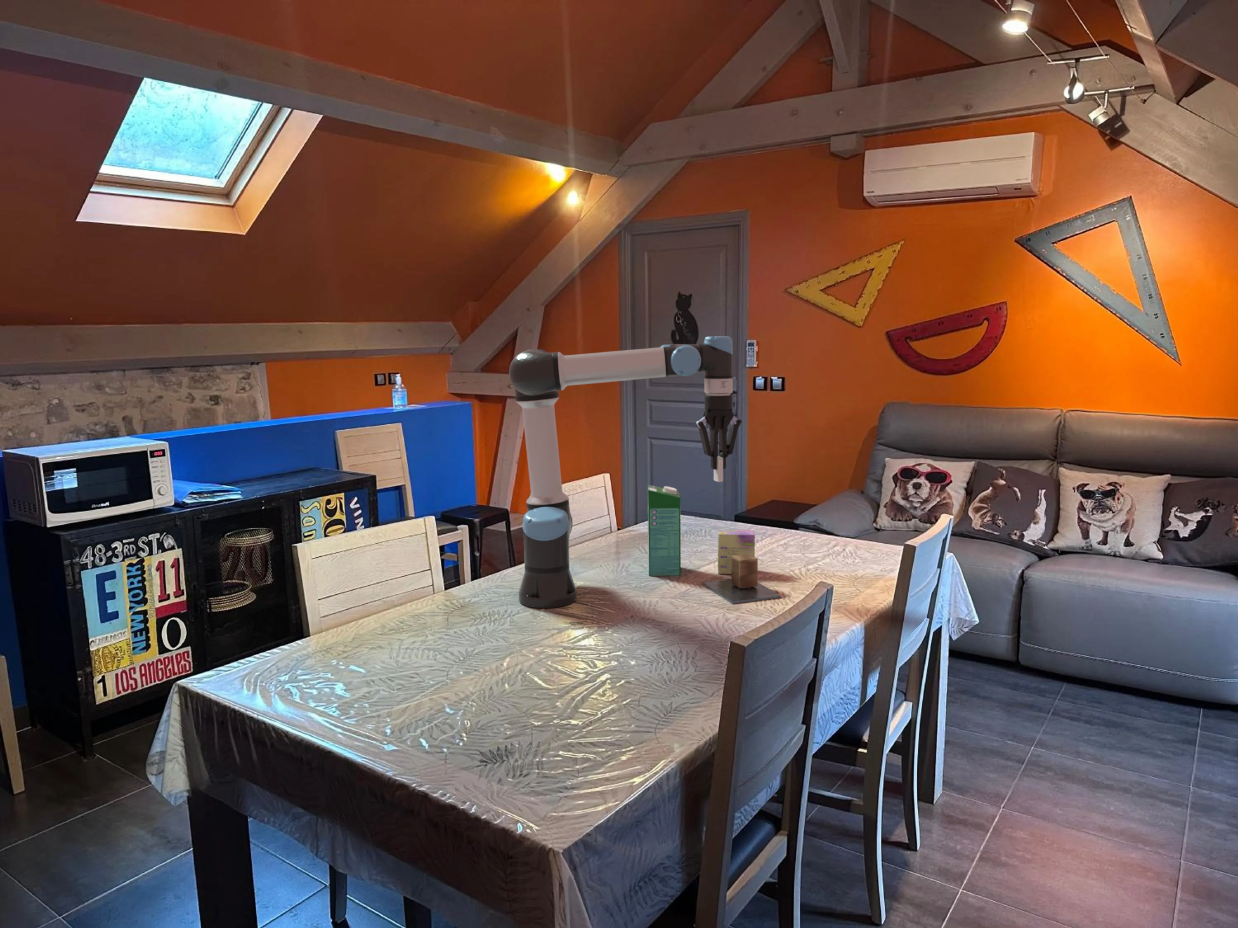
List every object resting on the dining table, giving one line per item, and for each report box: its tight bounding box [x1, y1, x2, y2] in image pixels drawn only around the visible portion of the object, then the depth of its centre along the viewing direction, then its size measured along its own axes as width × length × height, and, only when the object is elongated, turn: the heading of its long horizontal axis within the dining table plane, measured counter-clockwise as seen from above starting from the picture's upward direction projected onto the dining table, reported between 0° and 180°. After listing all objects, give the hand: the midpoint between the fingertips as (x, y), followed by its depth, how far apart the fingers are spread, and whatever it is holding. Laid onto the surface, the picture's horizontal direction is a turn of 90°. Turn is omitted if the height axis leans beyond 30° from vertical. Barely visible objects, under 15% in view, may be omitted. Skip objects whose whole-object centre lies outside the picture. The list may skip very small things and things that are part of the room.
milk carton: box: [647, 484, 682, 577], centre depth 247 cm, size 9×9×25 cm
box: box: [717, 529, 756, 575], centre depth 246 cm, size 10×6×12 cm, turn 84°
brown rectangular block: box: [730, 554, 759, 588], centre depth 231 cm, size 5×5×8 cm
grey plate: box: [702, 578, 782, 605], centre depth 229 cm, size 14×18×8 cm
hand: (718, 480), depth 233 cm, fingers closed
